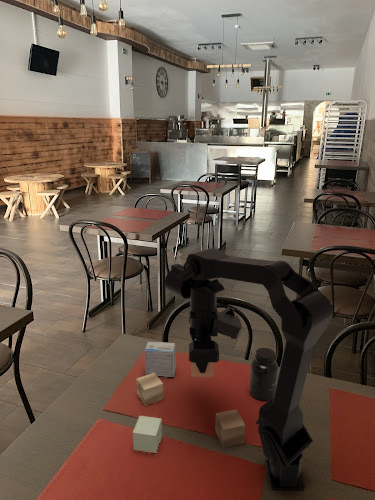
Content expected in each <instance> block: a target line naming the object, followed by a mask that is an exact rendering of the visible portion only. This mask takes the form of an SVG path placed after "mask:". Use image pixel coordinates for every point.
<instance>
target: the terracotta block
mask: <svg viewBox="0 0 375 500" xmlns="http://www.w3.org/2000/svg"><path fill="white" fill-rule="evenodd" d="M190 365H191V366H190V367H191V373H190V375H191V377H192V378H214V372H215V371H214V368H215V362H208V365H207V368H206V372H205V373H200V371H199V370H198V368H197V366H196V364H195V362H191V363H190Z"/></svg>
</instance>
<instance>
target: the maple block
mask: <svg viewBox="0 0 375 500" xmlns="http://www.w3.org/2000/svg"><path fill="white" fill-rule="evenodd" d="M136 393H137V394H138V395H139V396H138V395H137V394H136V395H137V396H138V398H139V397H140V398H141V399H140V398H139V399H140V401H141V400H142V401H141V402H142V404H143V403H144V404H143V406H144V405H148V404H150V405H152V404H151V403H153V404H155V403H154V402H156V401H159V400H161V401H163V400H164V383H163V382H162V380H161V379H160V377H158V376H157V375H156V374H155V373H152V374H149V375H146V374H145V375H143V376H141V377H137V378H136ZM162 399H163V400H162ZM159 402H160V401H159ZM156 403H157V402H156ZM148 406H149V405H148Z"/></svg>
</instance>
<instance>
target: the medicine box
mask: <svg viewBox="0 0 375 500" xmlns="http://www.w3.org/2000/svg"><path fill="white" fill-rule="evenodd" d="M144 367H145V369H144V370H145V376H146V375H149V374H152V373H155V374H156V375H157V376H164V377H163V378H167V377H175V374H176V368H177V367H176V343H175V342H163V341H161V342H160V341H159V342H158V341H147V343H146V345H145V348H144ZM165 376H166V377H165Z"/></svg>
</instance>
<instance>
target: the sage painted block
mask: <svg viewBox="0 0 375 500" xmlns="http://www.w3.org/2000/svg"><path fill="white" fill-rule="evenodd" d="M162 419H163V418H158V417H151V416H146V415H139V416H138V419H137V421H136V424H135V426H134V429H133V430H132V443H133V447H132V448H133V451H134V450H139V451H145V452H153V453H158V451H157V449H158V450H159V448H158V446H159V447H160V445H159V443H161V440H162V437H163V425H162V423H163V422H162V421H163V420H162ZM145 452H144V453H145Z"/></svg>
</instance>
